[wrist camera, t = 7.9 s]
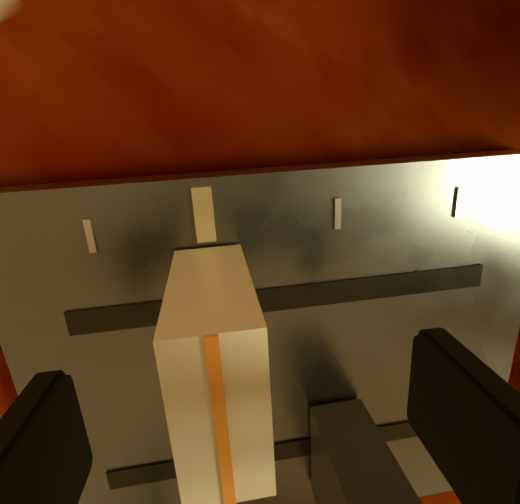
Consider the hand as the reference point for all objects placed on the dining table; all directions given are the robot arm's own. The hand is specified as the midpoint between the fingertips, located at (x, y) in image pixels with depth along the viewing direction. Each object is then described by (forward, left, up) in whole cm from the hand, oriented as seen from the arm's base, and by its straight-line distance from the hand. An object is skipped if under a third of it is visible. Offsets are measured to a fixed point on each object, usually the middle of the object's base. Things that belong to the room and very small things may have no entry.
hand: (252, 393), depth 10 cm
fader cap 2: (-4, +8, -5) cm, 10 cm away
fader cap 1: (+1, 0, -5) cm, 5 cm away
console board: (-2, +4, -7) cm, 8 cm away
